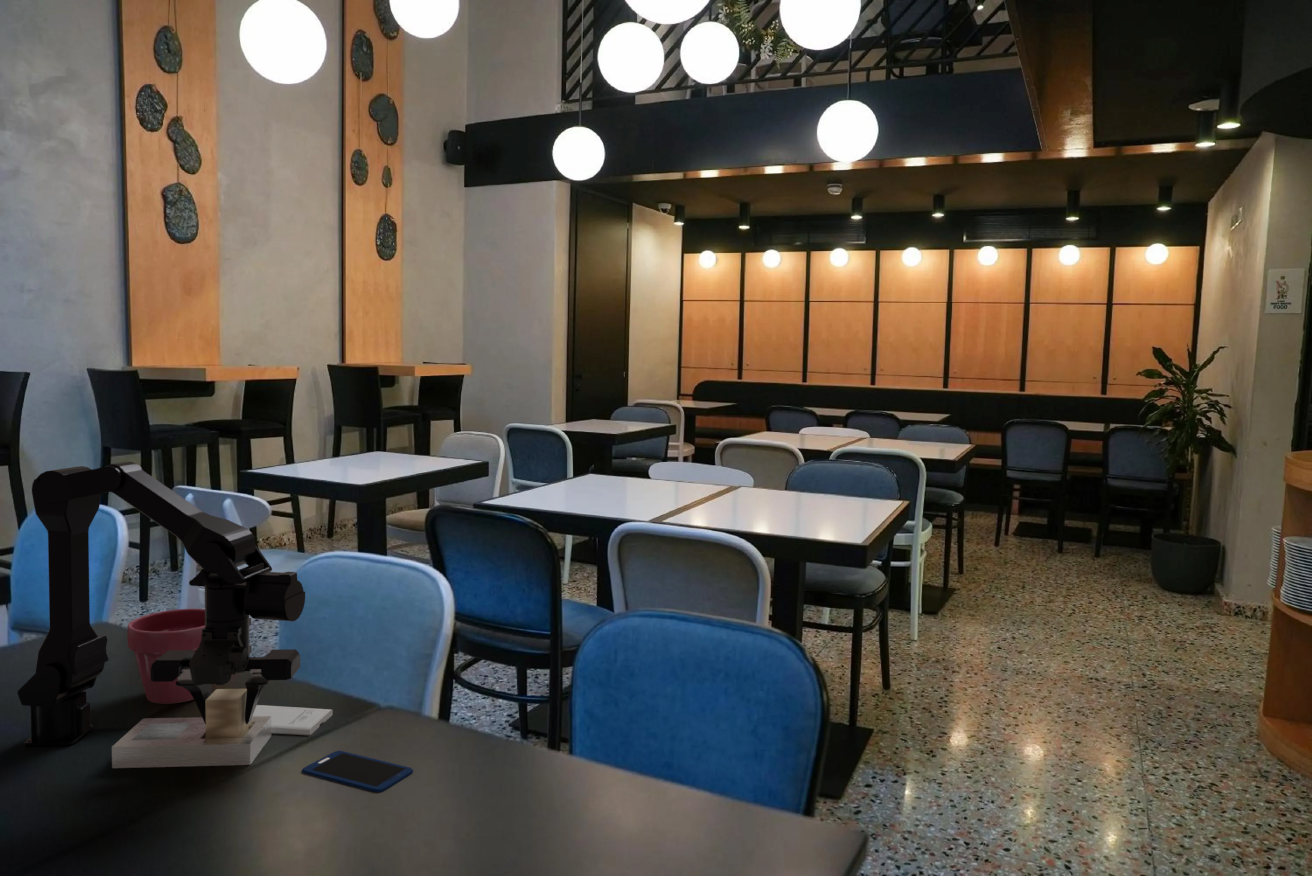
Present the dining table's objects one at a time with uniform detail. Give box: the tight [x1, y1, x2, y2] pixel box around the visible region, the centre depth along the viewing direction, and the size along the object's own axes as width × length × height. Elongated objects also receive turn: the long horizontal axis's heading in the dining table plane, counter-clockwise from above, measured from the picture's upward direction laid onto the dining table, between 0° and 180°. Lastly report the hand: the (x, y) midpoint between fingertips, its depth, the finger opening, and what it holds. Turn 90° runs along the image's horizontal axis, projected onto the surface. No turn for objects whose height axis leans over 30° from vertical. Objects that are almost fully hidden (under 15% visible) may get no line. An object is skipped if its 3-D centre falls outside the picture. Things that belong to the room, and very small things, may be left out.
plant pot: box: [126, 608, 205, 705], centre depth 152 cm, size 14×14×13 cm
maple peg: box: [205, 688, 249, 739], centre depth 131 cm, size 4×4×8 cm
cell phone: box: [301, 750, 414, 793], centre depth 126 cm, size 7×14×1 cm, turn 67°
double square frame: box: [111, 716, 272, 769], centre depth 131 cm, size 18×10×3 cm, turn 97°
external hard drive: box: [253, 704, 334, 736], centre depth 142 cm, size 2×8×12 cm
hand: (228, 723), depth 131 cm, fingers open, 5 cm apart
